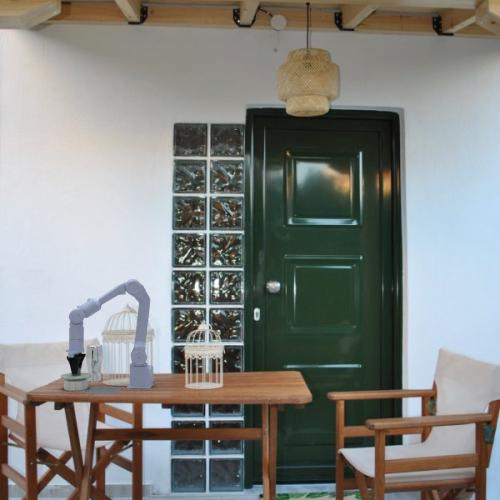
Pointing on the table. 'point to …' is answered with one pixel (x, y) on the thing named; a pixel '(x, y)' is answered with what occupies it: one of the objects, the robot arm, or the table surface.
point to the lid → (76, 375)
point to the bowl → (75, 384)
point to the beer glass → (94, 361)
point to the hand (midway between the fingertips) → (76, 372)
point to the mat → (103, 390)
